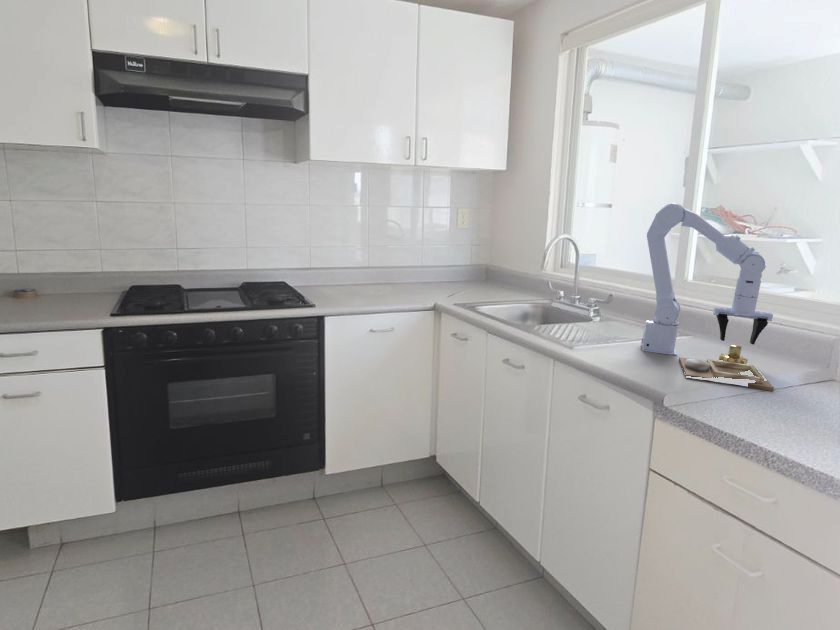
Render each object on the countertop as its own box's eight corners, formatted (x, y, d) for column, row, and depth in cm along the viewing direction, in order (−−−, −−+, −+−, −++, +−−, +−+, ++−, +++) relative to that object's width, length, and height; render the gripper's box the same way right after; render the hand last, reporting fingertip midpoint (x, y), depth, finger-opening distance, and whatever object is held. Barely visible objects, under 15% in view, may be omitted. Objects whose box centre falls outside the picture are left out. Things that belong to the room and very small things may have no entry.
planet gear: (721, 364, 157) (724, 347, 156) (716, 356, 164) (719, 340, 163) (749, 368, 155) (752, 351, 154) (743, 360, 162) (746, 344, 160)
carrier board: (685, 378, 144) (687, 369, 143) (678, 360, 158) (680, 352, 158) (772, 391, 138) (774, 381, 137) (757, 371, 152) (758, 362, 152)
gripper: (720, 295, 153) (711, 341, 156) (779, 301, 149) (769, 349, 152) (715, 290, 160) (707, 335, 163) (772, 296, 155) (762, 342, 158)
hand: (736, 341), depth 158 cm, fingers open, 7 cm apart
